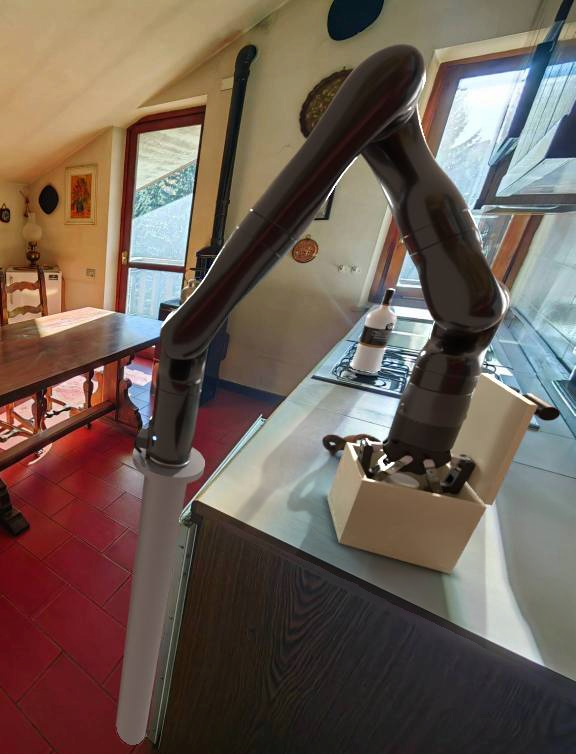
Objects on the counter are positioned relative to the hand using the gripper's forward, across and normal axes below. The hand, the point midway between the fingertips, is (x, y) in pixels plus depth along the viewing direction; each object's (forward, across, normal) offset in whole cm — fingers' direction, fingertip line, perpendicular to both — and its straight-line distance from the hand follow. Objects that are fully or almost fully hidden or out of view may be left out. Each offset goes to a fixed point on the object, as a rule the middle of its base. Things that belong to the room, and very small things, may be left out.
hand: (395, 503), depth 65 cm
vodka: (+6, -15, -96) cm, 98 cm away
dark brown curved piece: (+6, +1, -23) cm, 24 cm away
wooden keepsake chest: (+6, 0, 0) cm, 6 cm away
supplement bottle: (+6, 0, 0) cm, 6 cm away
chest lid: (-14, -7, 0) cm, 16 cm away
